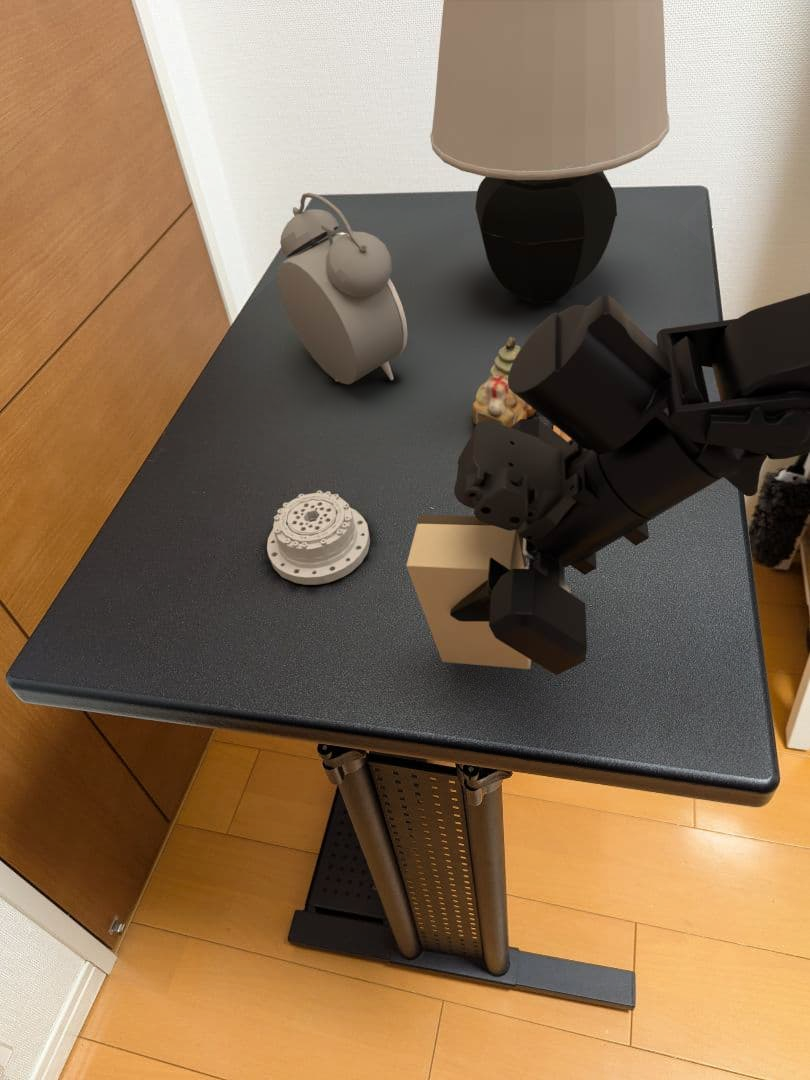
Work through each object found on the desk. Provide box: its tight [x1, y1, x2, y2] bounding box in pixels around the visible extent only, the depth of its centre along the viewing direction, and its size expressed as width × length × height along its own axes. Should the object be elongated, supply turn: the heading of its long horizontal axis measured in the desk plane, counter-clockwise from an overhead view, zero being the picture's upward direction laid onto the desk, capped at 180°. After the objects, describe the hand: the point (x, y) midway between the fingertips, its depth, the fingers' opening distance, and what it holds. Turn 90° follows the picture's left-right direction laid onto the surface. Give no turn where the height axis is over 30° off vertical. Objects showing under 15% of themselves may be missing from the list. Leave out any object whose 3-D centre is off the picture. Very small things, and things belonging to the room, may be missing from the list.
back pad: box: [406, 514, 532, 670], centre depth 57 cm, size 4×7×13 cm, turn 77°
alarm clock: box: [277, 192, 409, 385], centre depth 88 cm, size 16×9×22 cm, turn 37°
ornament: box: [471, 336, 537, 427], centre depth 83 cm, size 8×6×10 cm
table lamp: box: [429, 0, 670, 304], centre depth 89 cm, size 27×27×40 cm
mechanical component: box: [266, 490, 371, 586], centre depth 74 cm, size 10×4×10 cm
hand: (457, 588), depth 56 cm, fingers closed on back pad, 5 cm apart
